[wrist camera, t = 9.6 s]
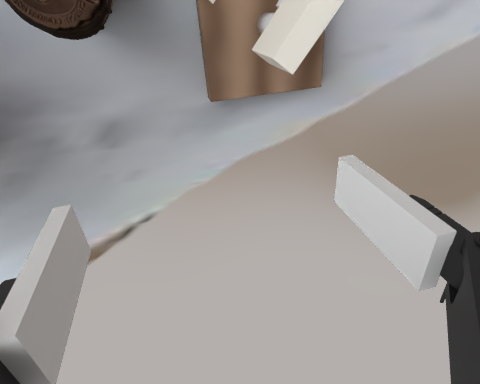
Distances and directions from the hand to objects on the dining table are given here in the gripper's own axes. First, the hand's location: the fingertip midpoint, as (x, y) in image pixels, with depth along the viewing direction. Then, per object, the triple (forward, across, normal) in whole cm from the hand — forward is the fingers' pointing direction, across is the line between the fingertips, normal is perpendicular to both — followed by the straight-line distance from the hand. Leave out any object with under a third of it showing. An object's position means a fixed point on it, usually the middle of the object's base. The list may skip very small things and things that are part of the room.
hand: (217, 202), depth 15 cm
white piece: (+26, +13, +8) cm, 30 cm away
